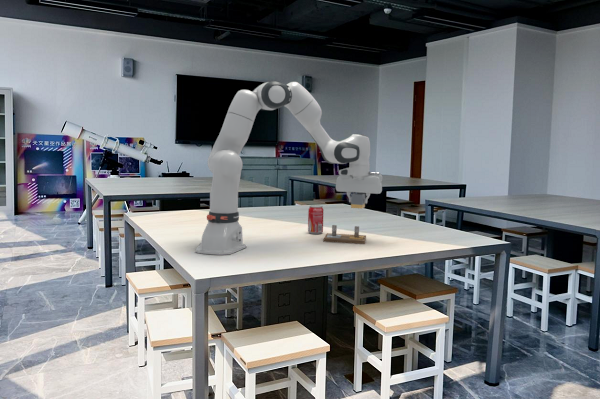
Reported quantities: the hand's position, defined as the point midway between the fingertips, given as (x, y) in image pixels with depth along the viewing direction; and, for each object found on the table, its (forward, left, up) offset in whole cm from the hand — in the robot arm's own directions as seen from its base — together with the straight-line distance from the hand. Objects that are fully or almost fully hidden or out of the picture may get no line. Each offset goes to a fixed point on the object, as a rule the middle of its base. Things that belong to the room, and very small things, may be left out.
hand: (358, 202), depth 220 cm
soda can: (+12, +20, -17) cm, 29 cm away
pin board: (0, +5, -17) cm, 18 cm away
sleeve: (0, 0, -2) cm, 2 cm away
